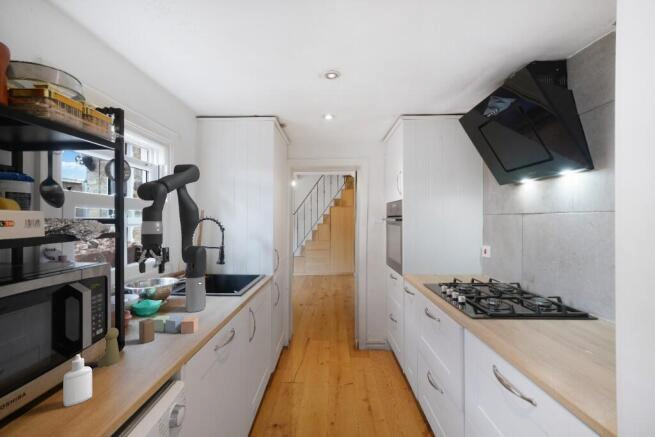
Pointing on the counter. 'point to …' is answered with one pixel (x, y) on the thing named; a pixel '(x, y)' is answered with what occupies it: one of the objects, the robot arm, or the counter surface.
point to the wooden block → (146, 330)
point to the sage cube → (160, 323)
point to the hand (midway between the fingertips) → (151, 273)
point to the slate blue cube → (174, 324)
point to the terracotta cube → (189, 325)
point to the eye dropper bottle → (77, 383)
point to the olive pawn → (110, 349)
